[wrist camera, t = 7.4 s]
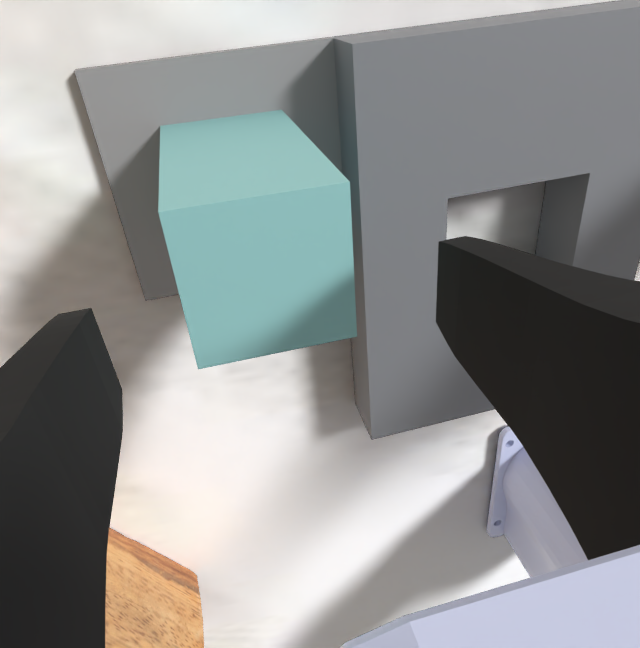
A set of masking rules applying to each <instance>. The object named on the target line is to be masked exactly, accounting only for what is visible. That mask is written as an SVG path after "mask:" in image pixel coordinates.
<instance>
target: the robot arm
mask: <svg viewBox="0 0 640 648" xmlns="http://www.w3.org/2000/svg"><path fill="white" fill-rule="evenodd" d="M436 323H437V325H438V327H439V329H440V331H441V333H442V335H443V336H444V338H445V340H446V342H447V344H448V346H449V347H450V349H451V351H452V352H453V354H454V356H455V357H456V359H457V360H458V361H459V363H460V364H461V365H462V367H463V368H464V369H465V371H466V372H467V373H468V375H469V376H470V377H471V378H472V380H473V381H474V382H475V384H476V385H477V386H478V387H479V389H480V390H481V391H482V393H483V394H484V395H485V396H486V398H487V399H488V400H489V402H490V403H491V404H492V405H493V407H494V408H495V409H496V410H497V412H498V413H499V414H500V416H501V417H502V418H503V419H504V421H505V422H506V423H507V425H508V427H506V428H504V429H502V431H501V432H500V434H499V439H498V447H497V454H496V462H495V469H494V477H493V485H492V492H491V500H490V507H489V515H488V522H487V530H486V531H487V533H488V535H489V536H490V537H498V536H501V535H505V537H506V539H507V540H508V542H509V544H510V545H511V547H512V548H513V550H514V552H515V553H516V555H517V556H518V558H519V560H520V561H521V563H522V565H523V566H524V568H525V569H526V571H527V573H528V574H529V576H530V577H531V578H528V579H525V580H521V581H518V582H515V583H511V584H508V585H505V586H501V587H498V588H495V589H491V590H488V591H485V592H481V593H478V594H475V595H471V596H468V597H465V598H461V599H458V600H455V601H451V602H448V603H445V604H442V605H438V606H435V607H432V608H428V609H425V610H422V611H418V612H415V613H412V614H408V615H405V616H403V617H400V618H398V619H396V620H394V621H391V622H389V623H387V624H385V625H383V626H380V627H378V628H376V629H374V630H372V631H369V632H367V633H365V634H363V635H361V636H358V637H356V638H354V639H352V640H350V641H347V642H345V643H344V644H343V645H342V646H341V647H340V648H640V282H639V281H634V280H629V279H623V278H619V277H614V276H609V275H605V274H601V273H597V272H593V271H589V270H585V269H581V268H577V267H574V266H570V265H566V264H563V263H559V262H556V261H552V260H549V259H546V258H542V257H539V256H536V255H533V254H529V253H526V252H523V251H520V250H516V249H513V248H510V247H507V246H503V245H500V244H497V243H493V242H489V241H486V240H482V239H478V238H473V237H466V236H464V237H459V238H454V239H449V240H444V241H439V243H438V271H437V300H436ZM122 432H123V410H122V388H121V386H120V383H119V380H118V378H117V375H116V372H115V370H114V367H113V364H112V362H111V359H110V356H109V354H108V351H107V349H106V346H105V343H104V341H103V338H102V335H101V333H100V330H99V327H98V325H97V322H96V319H95V317H94V314H93V312H92V309H91V308H89V309H83V310H78V311H73V312H68V313H62V314H58V315H57V316H56V317H54V318H53V319H52V320H50V321H49V322H48V323H47V324H46V325H45V326H44V327H43V328H42V329H40V330H39V331H38V332H37V333H36V334H35V335H34V336H33V337H32V338H31V339H30V340H29V341H28V342H27V343H26V344H25V345H24V346H23V347H22V348H21V349H20V350H19V351H17V352H16V353H15V354H14V355H13V356H12V357H11V358H10V359H9V360H8V361H7V362H6V363H5V364H4V365H3V366H2V367H1V368H0V648H105V602H106V563H107V545H108V534H109V526H110V519H111V512H112V505H113V498H114V491H115V484H116V477H117V470H118V463H119V455H120V448H121V440H122Z"/></svg>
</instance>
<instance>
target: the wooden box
mask: <svg viewBox="0 0 640 648" xmlns="http://www.w3.org/2000/svg"><path fill="white" fill-rule="evenodd" d="M105 648H204V638H203V618H202V609H201V601H200V594H199V587H198V581H197V575H195V574H194V572H192V571H191V570H189V569H187V568H185V567H183V566H181V565H179V564H178V563H176V562H174V561H172V560H170V559H169V558H167V557H165V556H163V555H161V554H159V553H157V552H155V551H153V550H151V549H150V548H148V547H146V546H144V545H142V544H140V543H138V542H136V541H134V540H131V539H129V538H126V537H125V536H123V535H122V534H120V533H118V532H116V531H115V530H113V529H111V528H109V534H108V545H107V563H106V602H105Z"/></svg>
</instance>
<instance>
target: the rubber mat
mask: <svg viewBox="0 0 640 648" xmlns="http://www.w3.org/2000/svg"><path fill="white" fill-rule="evenodd" d="M74 72H75V75H76V78H77V81H78V84H79V88H80V91H81V94H82V97H83V100H84V104H85V107H86V110H87V113H88V117H89V120H90V123H91V126H92V129H93V133H94V136H95V139H96V142H97V145H98V149H99V152H100V155H101V158H102V162H103V165H104V168H105V171H106V174H107V178H108V181H109V184H110V187H111V190H112V194H113V197H114V200H115V203H116V207H117V210H118V213H119V216H120V219H121V223H122V226H123V229H124V232H125V235H126V239H127V242H128V245H129V248H130V252H131V255H132V258H133V261H134V264H135V268H136V271H137V274H138V277H139V280H140V284H141V287H142V290H143V293H144V297H145V300H146V301H147V300H152V299H158V298H163V297H168V296H173V295H178V294H179V292H178V288H177V284H176V280H175V276H174V272H173V268H172V264H171V260H170V256H169V252H168V248H167V244H166V240H165V237H164V233H163V229H162V225H161V221H160V217H159V213H158V202H159V159H160V126H163V125H171V124H178V123H186V122H193V121H201V120H208V119H216V118H223V117H231V116H239V115H246V114H254V113H261V112H269V111H276V110H282V111H283V112H284V113H285V114H286V115H287V116H288V117H289V118H290V119H291V120H292V121H293V122H294V123H295V124H296V125H297V126H298V127H299V129H300V130H301V131H302V132H303V133H304V134H305V135H306V136H307V137H308V138H309V139H310V140H311V141H312V142H313V143H314V144H315V145H316V147H317V148H318V149H319V150H320V151H321V152H322V153H323V154H324V155H325V156H326V157H327V158H328V159H329V160H330V161H331V162H332V163H333V165H334V166H335V167H336V168H337V169H338V170H339V171H340V172H341V173H342V160H341V145H340V130H339V115H338V99H337V84H336V69H335V54H334V39H333V38H332V37H327V38H319V39H311V40H303V41H295V42H287V43H279V44H271V45H263V46H255V47H247V48H240V49H232V50H224V51H216V52H208V53H200V54H192V55H184V56H176V57H168V58H160V59H153V60H145V61H137V62H129V63H121V64H113V65H105V66H97V67H89V68H81V69H76V70H75V71H74Z"/></svg>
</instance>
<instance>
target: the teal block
mask: <svg viewBox="0 0 640 648" xmlns="http://www.w3.org/2000/svg"><path fill="white" fill-rule="evenodd" d="M158 213H159V217H160V221H161V225H162V229H163V233H164V237H165V240H166V244H167V248H168V252H169V256H170V260H171V264H172V268H173V272H174V276H175V280H176V284H177V288H178V292H179V296H180V299H181V303H182V307H183V311H184V315H185V319H186V323H187V327H188V331H189V335H190V339H191V343H192V347H193V351H194V355H195V358H196V362H197V366H198V369H202V368H207V367H212V366H216V365H221V364H226V363H231V362H236V361H241V360H246V359H250V358H255V357H260V356H265V355H270V354H275V353H280V352H284V351H289V350H294V349H299V348H304V347H309V346H314V345H318V344H323V343H328V342H333V341H338V340H343V339H348V338H352V337H357V324H356V302H355V281H354V259H353V238H352V217H351V195H350V181H349V180H348V179H347V178H346V177H345V176H344V175H343V174H342V173H341V172H340V171H339V170H338V169H337V168H336V167H335V166H334V165H333V163H332V162H331V161H330V160H329V159H328V158H327V157H326V156H325V155H324V154H323V153H322V152H321V151H320V150H319V149H318V148H317V147H316V145H315V144H314V143H313V142H312V141H311V140H310V139H309V138H308V137H307V136H306V135H305V134H304V133H303V132H302V131H301V130H300V129H299V127H298V126H297V125H296V124H295V123H294V122H293V121H292V120H291V119H290V118H289V117H288V116H287V115H286V114H285V113H284V112H283V111H282V110H276V111H269V112H261V113H254V114H246V115H239V116H231V117H223V118H216V119H208V120H201V121H193V122H186V123H178V124H171V125H163V126H160V159H159V202H158Z"/></svg>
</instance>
